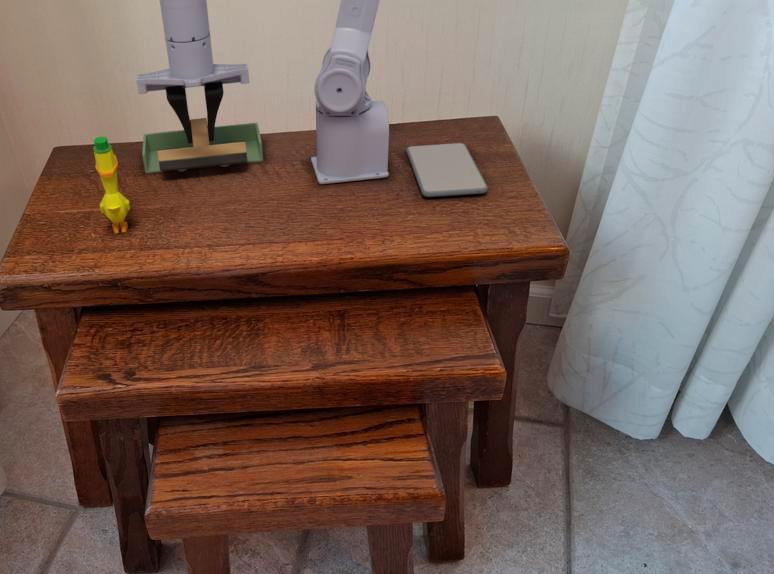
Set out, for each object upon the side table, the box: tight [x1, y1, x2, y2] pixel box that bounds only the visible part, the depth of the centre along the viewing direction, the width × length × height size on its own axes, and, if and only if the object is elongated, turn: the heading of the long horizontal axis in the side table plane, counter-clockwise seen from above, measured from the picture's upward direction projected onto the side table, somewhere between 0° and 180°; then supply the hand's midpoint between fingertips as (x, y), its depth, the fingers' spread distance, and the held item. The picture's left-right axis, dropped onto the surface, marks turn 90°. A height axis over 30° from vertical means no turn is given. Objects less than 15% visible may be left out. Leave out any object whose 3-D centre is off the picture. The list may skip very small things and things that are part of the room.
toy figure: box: [92, 136, 131, 234], centre depth 93 cm, size 7×4×12 cm, turn 9°
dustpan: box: [141, 122, 264, 174], centre depth 111 cm, size 10×17×3 cm, turn 96°
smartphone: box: [405, 142, 489, 198], centre depth 102 cm, size 8×1×15 cm
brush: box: [157, 117, 248, 172], centre depth 105 cm, size 12×3×6 cm, turn 96°
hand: (200, 139), depth 106 cm, fingers closed on brush, 2 cm apart
